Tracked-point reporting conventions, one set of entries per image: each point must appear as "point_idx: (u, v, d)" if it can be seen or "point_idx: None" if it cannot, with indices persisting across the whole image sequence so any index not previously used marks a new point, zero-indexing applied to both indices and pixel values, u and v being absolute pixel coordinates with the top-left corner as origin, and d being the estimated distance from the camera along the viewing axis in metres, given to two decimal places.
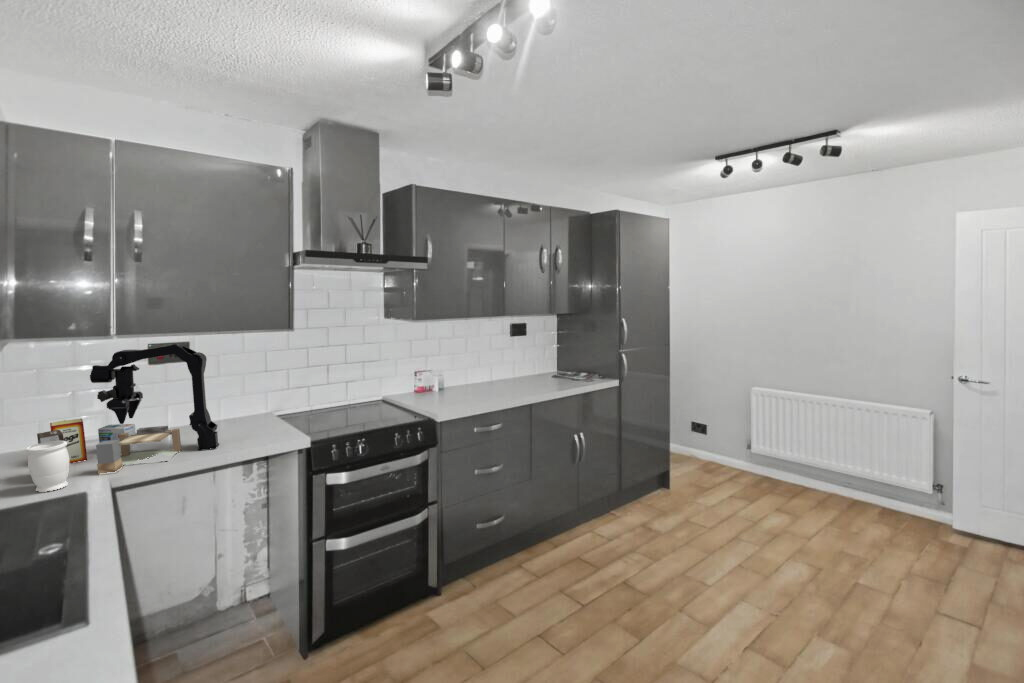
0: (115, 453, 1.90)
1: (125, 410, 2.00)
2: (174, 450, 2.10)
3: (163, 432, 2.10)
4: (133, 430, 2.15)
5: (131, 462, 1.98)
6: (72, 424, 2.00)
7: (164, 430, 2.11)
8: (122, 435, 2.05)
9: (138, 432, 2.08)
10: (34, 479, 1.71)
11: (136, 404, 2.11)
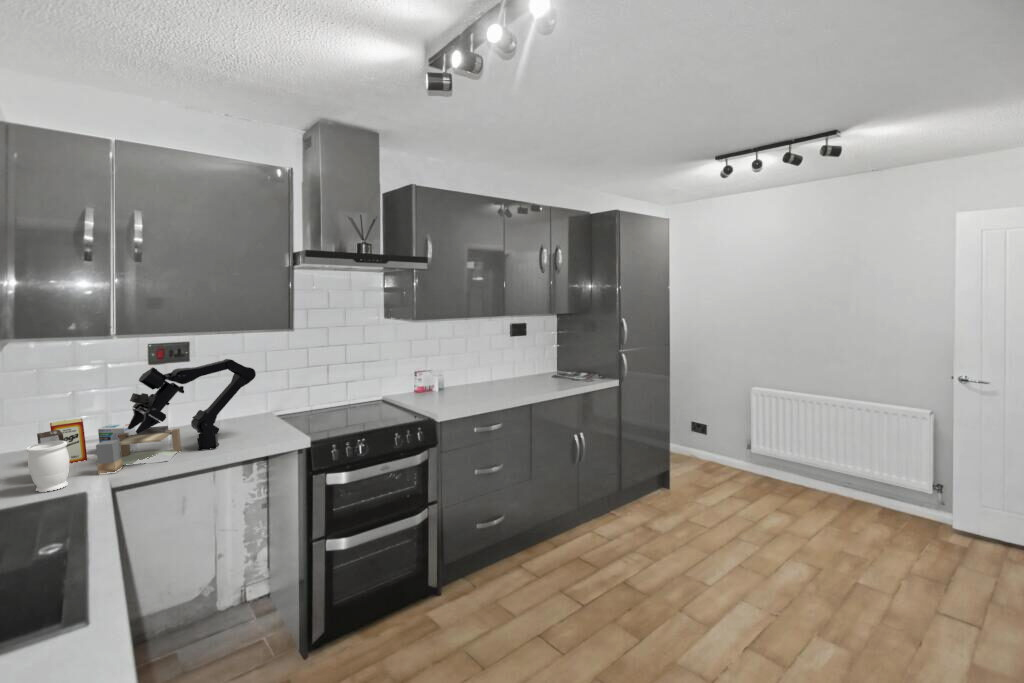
0: (115, 453, 1.90)
1: (154, 423, 1.95)
2: (174, 450, 2.10)
3: (163, 432, 2.10)
4: (133, 430, 2.15)
5: (131, 462, 1.98)
6: (72, 424, 2.00)
7: (164, 430, 2.11)
8: (122, 435, 2.05)
9: None
10: (34, 479, 1.71)
11: (143, 419, 2.02)
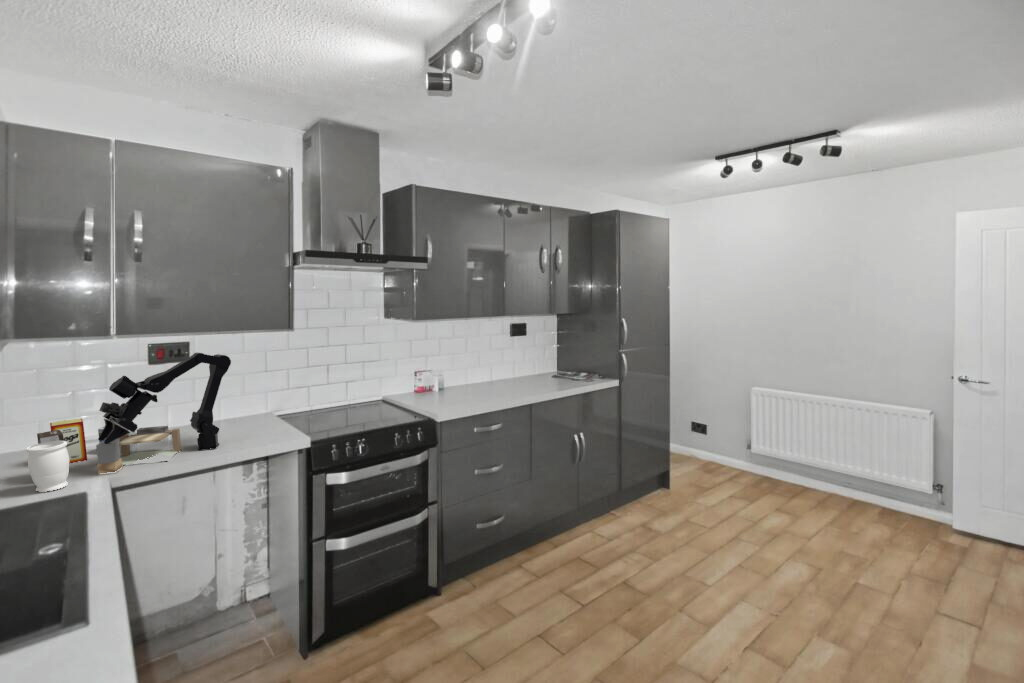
0: (116, 453, 1.90)
1: (124, 433, 1.88)
2: (174, 450, 2.10)
3: (163, 432, 2.10)
4: None
5: (131, 462, 1.98)
6: (72, 424, 2.00)
7: (164, 430, 2.11)
8: None
9: (138, 432, 2.08)
10: (34, 479, 1.71)
11: None
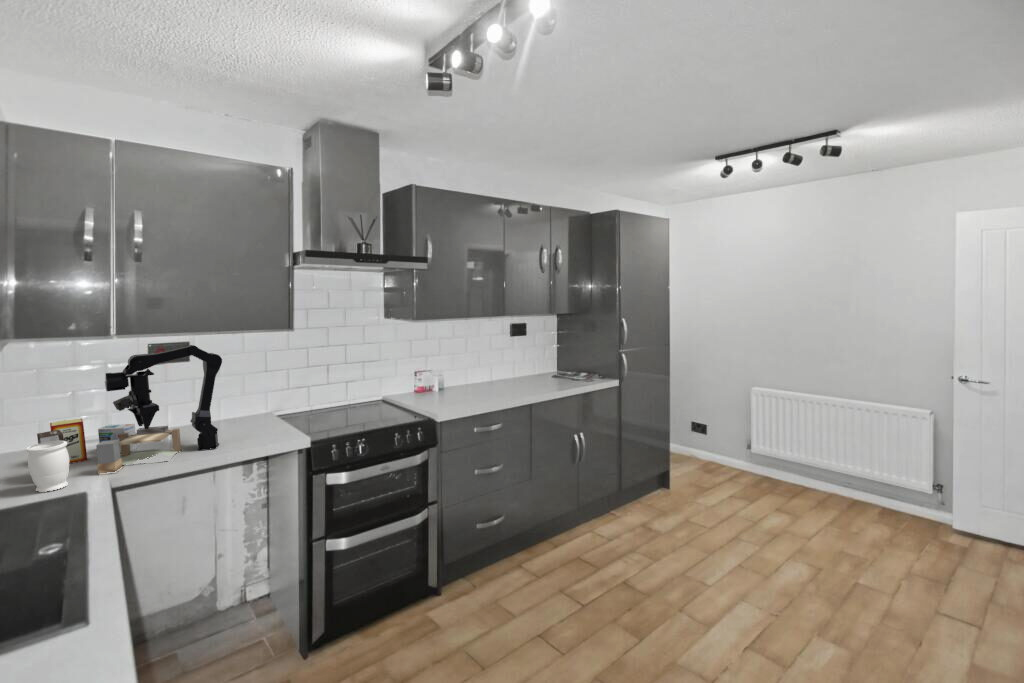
0: (116, 453, 1.90)
1: (153, 414, 1.98)
2: (174, 450, 2.10)
3: (163, 432, 2.10)
4: (133, 430, 2.15)
5: (131, 462, 1.98)
6: (72, 424, 2.00)
7: (164, 430, 2.11)
8: (122, 435, 2.05)
9: (138, 432, 2.08)
10: (34, 479, 1.71)
11: None
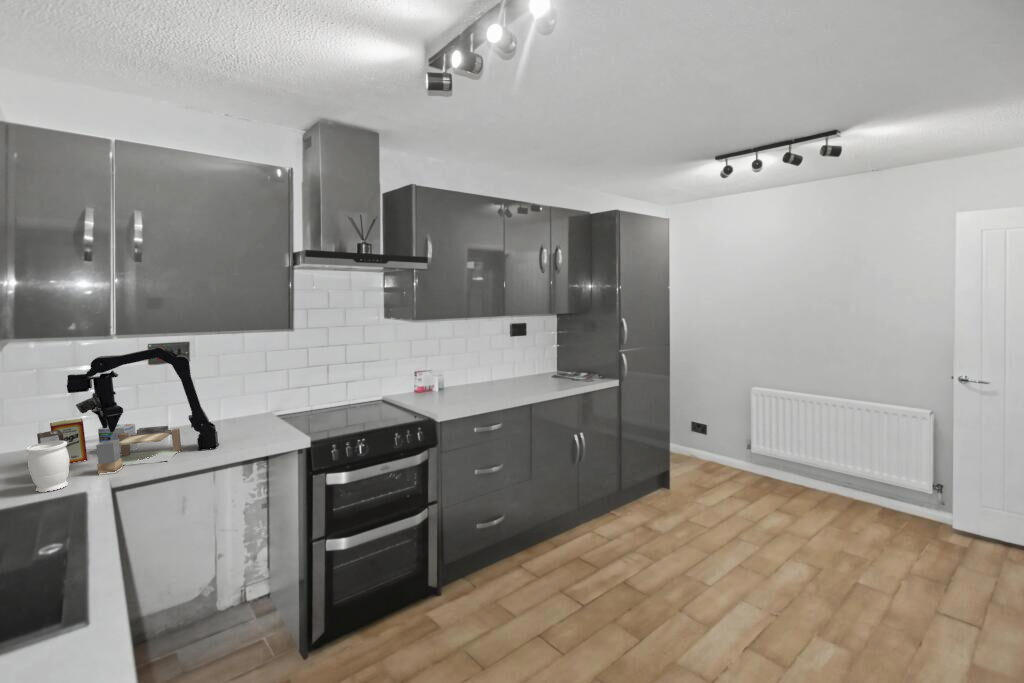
0: (116, 453, 1.90)
1: (118, 416, 1.95)
2: (174, 450, 2.10)
3: (163, 432, 2.10)
4: (133, 430, 2.15)
5: (131, 462, 1.98)
6: (72, 424, 2.00)
7: (164, 430, 2.11)
8: (122, 435, 2.05)
9: (138, 432, 2.08)
10: (34, 479, 1.71)
11: None
